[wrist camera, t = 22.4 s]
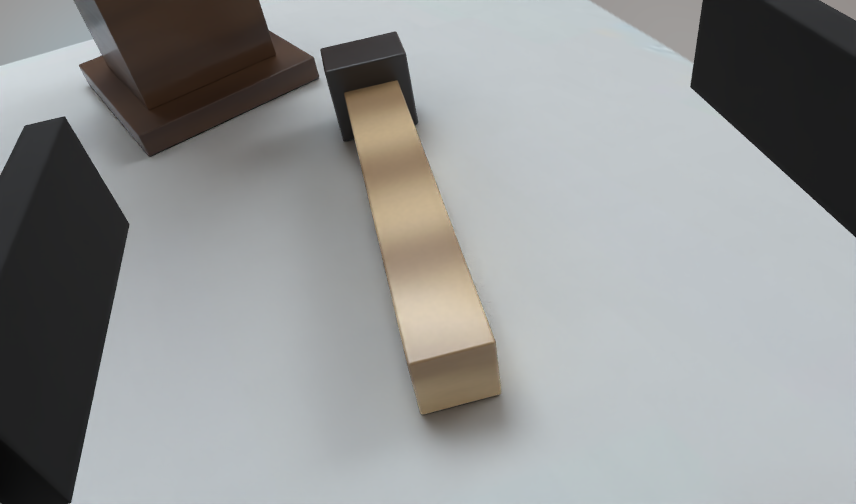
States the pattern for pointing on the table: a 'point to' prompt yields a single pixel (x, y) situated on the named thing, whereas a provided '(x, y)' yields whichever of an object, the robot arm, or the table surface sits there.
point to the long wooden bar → (412, 227)
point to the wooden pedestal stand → (186, 64)
